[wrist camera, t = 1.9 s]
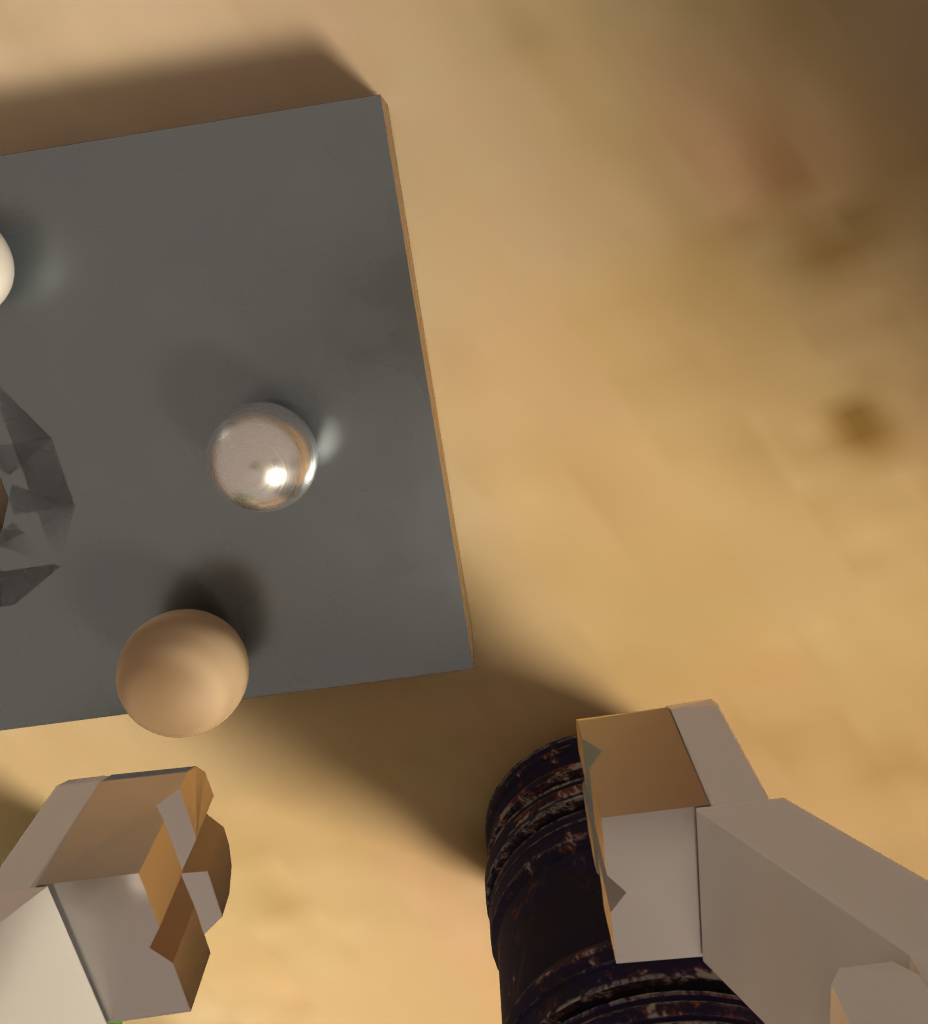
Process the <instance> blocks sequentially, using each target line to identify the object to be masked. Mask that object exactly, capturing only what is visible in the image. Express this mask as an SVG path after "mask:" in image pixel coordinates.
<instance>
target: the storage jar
mask: <svg viewBox="0 0 928 1024" xmlns="http://www.w3.org/2000/svg"><path fill="white" fill-rule="evenodd" d="M584 780H585V778H584V773H583V769H582V764H581V760H580V755H579V750H578V740H577V735H573V736H569V737H565V738H562V739H560V740H557V741H554V742H552V743H549V744H547V745H545V746H543V747H541V748H540V749H538V750H536V751H534V752H532V753H531V754H530V755H528V756H527V757H525V758H524V759H523V760H521V761H520V762H519V763H518V764H517V765H516V766H515V767H514V768H513V769H512V770H511V771H510V772H509V773H508V774H507V775H506V776H505V777H504V779H503V780H502V781H501V783H500V784H499V786H498V787H497V789H496V791H495V793H494V795H493V797H492V799H491V801H490V804H489V808H488V812H487V815H486V828H485V833H486V845H487V863H486V873H485V890H486V905H487V913H488V917H489V920H490V935H491V945H492V953H493V957H494V960H495V963H496V965H497V968H498V970H499V978H500V995H501V1012H502V1024H765V1023H764V1022H763V1021H762V1020H761V1019H760V1018H759V1017H758V1016H757V1015H756V1014H755V1013H754V1012H753V1011H752V1010H751V1009H750V1008H749V1007H748V1006H747V1005H746V1004H745V1003H744V1002H743V1001H742V1000H741V999H740V998H739V997H738V996H737V995H736V994H735V993H734V992H733V991H732V990H731V989H730V988H729V987H728V986H727V985H726V984H725V982H724V981H723V980H722V979H721V978H720V977H719V976H718V975H717V974H716V973H715V972H714V971H713V970H712V969H711V968H710V967H709V966H708V965H707V964H706V963H705V962H704V961H703V956H701V957H689V958H677V959H665V960H653V961H641V962H629V963H617V964H616V959H615V955H614V950H613V946H612V941H611V937H610V932H609V928H608V923H607V919H606V914H605V910H604V904H603V895H602V886H601V878H600V875H599V874H598V873H597V872H596V867H595V863H594V858H593V853H592V847H591V842H590V837H589V831H588V824H587V816H586V809H585V801H584V794H583V786H582V783H583V781H584Z"/></svg>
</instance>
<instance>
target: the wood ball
mask: <svg viewBox="0 0 928 1024" xmlns="http://www.w3.org/2000/svg"><path fill="white" fill-rule="evenodd" d="M248 678H249V660H248V655H247V651H246V648H245V645H244V644H243V642H242V640H241V638H240V636H239V635H238V633H237V632H236V631H235V630H234V629H233V628H232V627H231V626H230V625H229V624H228V623H227V622H226V621H224V620H223V619H221V618H219V617H217V616H216V615H213V614H211V613H208V612H205V611H201V610H195V609H180V610H173V611H168V612H165V613H162V614H160V615H157V616H155V617H153V618H151V619H150V620H148V621H147V622H145V623H144V624H142V625H141V626H140V627H139V628H138V629H137V630H136V631H135V632H134V633H133V634H132V635H131V636H130V638H129V639H128V640H127V642H126V644H125V645H124V647H123V649H122V651H121V654H120V656H119V659H118V663H117V668H116V687H117V692H118V696H119V699H120V701H121V703H122V705H123V707H124V709H125V710H126V712H127V713H128V714H129V716H130V717H131V718H132V719H133V720H134V721H135V722H136V723H138V724H139V725H140V726H142V727H143V728H145V729H147V730H149V731H151V732H153V733H156V734H158V735H162V736H166V737H177V738H180V737H189V736H195V735H198V734H202V733H204V732H206V731H208V730H211V729H213V728H214V727H216V726H218V725H219V724H220V723H222V722H223V721H224V720H225V719H227V718H228V717H229V716H230V715H231V713H232V712H233V711H234V710H235V709H236V708H237V706H238V704H239V703H240V701H241V699H242V698H243V695H244V693H245V690H246V687H247V683H248Z"/></svg>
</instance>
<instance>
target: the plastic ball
mask: <svg viewBox="0 0 928 1024" xmlns="http://www.w3.org/2000/svg"><path fill="white" fill-rule="evenodd" d="M13 281H14V261H13V257H12V253H11V251H10V248H9V246H8V244H7V242H6V241H5V239H4V238H3V236H2V235H1V233H0V304H1V303H2V302H3V301H4V300H5V299H6V297H7V295H8V294H9V292H10V290H11V288H12V285H13Z"/></svg>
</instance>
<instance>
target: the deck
mask: <svg viewBox="0 0 928 1024" xmlns="http://www.w3.org/2000/svg"><path fill="white" fill-rule="evenodd" d="M0 233H1V235H2V236H3V238H4V239H5V241H6V242H7V244H8V246H9V248H10V251H11V253H12V257H13V261H14V281H13V285H12V288H11V290H10V292H9V294H8V295H7V297H6V299H5V300H4V301H3V302H2V303H1V304H0V477H1V480H2V483H3V486H4V488H5V491H6V494H7V496H8V499H9V500H8V504H7V509H6V514H5V519H4V524H3V526H2V527H0V730H8V729H15V728H23V727H30V726H38V725H46V724H53V723H61V722H69V721H76V720H84V719H92V718H99V717H107V716H115V715H122V714H128V713H127V712H126V710H125V709H124V707H123V705H122V703H121V701H120V699H119V696H118V692H117V687H116V668H117V663H118V659H119V656H120V654H121V651H122V649H123V647H124V645H125V644H126V642H127V640H128V639H129V638H130V636H131V635H132V634H133V633H134V632H135V631H136V630H137V629H138V628H139V627H140V626H141V625H142V624H144V623H145V622H147V621H148V620H150V619H151V618H153V617H155V616H157V615H160V614H162V613H165V612H168V611H173V610H180V609H195V610H201V611H205V612H208V613H211V614H213V615H216V616H217V617H219V618H221V619H223V620H224V621H226V622H227V623H228V624H229V625H230V626H231V627H232V628H233V629H234V630H235V631H236V632H237V633H238V635H239V636H240V638H241V640H242V642H243V644H244V645H245V648H246V651H247V655H248V660H249V678H248V683H247V687H246V690H245V693H244V695H243V698H242V699H245V698H252V697H260V696H268V695H275V694H283V693H291V692H298V691H306V690H314V689H321V688H329V687H337V686H344V685H352V684H360V683H367V682H375V681H383V680H390V679H398V678H405V677H413V676H421V675H428V674H436V673H444V672H451V671H459V670H467V669H474V662H473V638H472V628H471V621H470V615H469V609H468V603H467V597H466V590H465V584H464V578H463V572H462V565H461V559H460V553H459V547H458V540H457V534H456V528H455V522H454V515H453V509H452V503H451V497H450V491H449V484H448V478H447V472H446V466H445V459H444V453H443V447H442V441H441V434H440V428H439V422H438V416H437V409H436V403H435V397H434V391H433V385H432V378H431V372H430V366H429V360H428V353H427V347H426V341H425V335H424V328H423V322H422V316H421V310H420V303H419V297H418V291H417V285H416V278H415V272H414V266H413V260H412V254H411V247H410V241H409V235H408V229H407V222H406V216H405V210H404V204H403V197H402V191H401V185H400V179H399V172H398V166H397V160H396V154H395V148H394V141H393V135H392V129H391V123H390V116H389V110H388V105H387V104H386V102H385V101H384V99H383V98H382V96H381V95H375V96H368V97H362V98H356V99H350V100H344V101H337V102H331V103H325V104H319V105H313V106H306V107H300V108H294V109H288V110H282V111H275V112H269V113H263V114H257V115H251V116H245V117H238V118H232V119H226V120H220V121H214V122H207V123H201V124H195V125H189V126H183V127H176V128H170V129H164V130H158V131H152V132H145V133H139V134H133V135H127V136H121V137H114V138H108V139H102V140H96V141H90V142H83V143H77V144H71V145H65V146H59V147H53V148H46V149H40V150H34V151H28V152H22V153H15V154H9V155H3V156H0ZM253 402H268V403H274V404H277V405H281V406H283V407H285V408H287V409H289V410H291V411H292V412H294V413H295V414H297V415H298V416H299V417H300V418H301V419H302V420H303V421H304V422H305V423H306V424H307V426H308V427H309V429H310V430H311V432H312V434H313V436H314V438H315V441H316V445H317V450H318V466H317V471H316V474H315V477H314V480H313V482H312V484H311V485H310V487H309V489H308V490H307V491H306V492H305V493H304V495H303V496H302V497H301V498H299V499H298V500H297V501H296V502H294V503H293V504H291V505H289V506H287V507H285V508H282V509H280V510H276V511H270V512H254V511H249V510H245V509H242V508H240V507H238V506H236V505H234V504H232V503H230V502H229V501H228V500H226V499H225V498H224V497H223V496H222V495H221V494H220V493H219V492H218V491H217V490H216V488H215V487H214V485H213V484H212V482H211V480H210V478H209V476H208V473H207V469H206V464H205V448H206V443H207V440H208V437H209V434H210V432H211V430H212V429H213V427H214V426H215V424H216V423H217V422H218V421H219V419H220V418H221V417H223V416H224V415H225V414H226V413H228V412H229V411H231V410H232V409H234V408H236V407H238V406H241V405H244V404H248V403H253Z"/></svg>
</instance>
